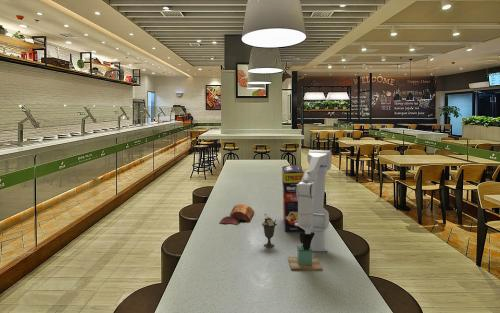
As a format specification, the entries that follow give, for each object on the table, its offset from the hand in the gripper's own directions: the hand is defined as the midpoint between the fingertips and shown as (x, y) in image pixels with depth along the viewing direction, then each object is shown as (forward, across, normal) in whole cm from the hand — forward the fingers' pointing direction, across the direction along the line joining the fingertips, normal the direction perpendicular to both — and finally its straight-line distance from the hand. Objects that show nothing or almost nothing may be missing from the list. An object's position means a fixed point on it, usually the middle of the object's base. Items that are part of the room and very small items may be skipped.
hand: (304, 246), depth 148 cm
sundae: (+8, -22, -13) cm, 27 cm away
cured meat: (+8, -68, -29) cm, 74 cm away
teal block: (+7, 0, 0) cm, 7 cm away
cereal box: (+8, -55, +2) cm, 56 cm away
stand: (+7, 0, 0) cm, 7 cm away
